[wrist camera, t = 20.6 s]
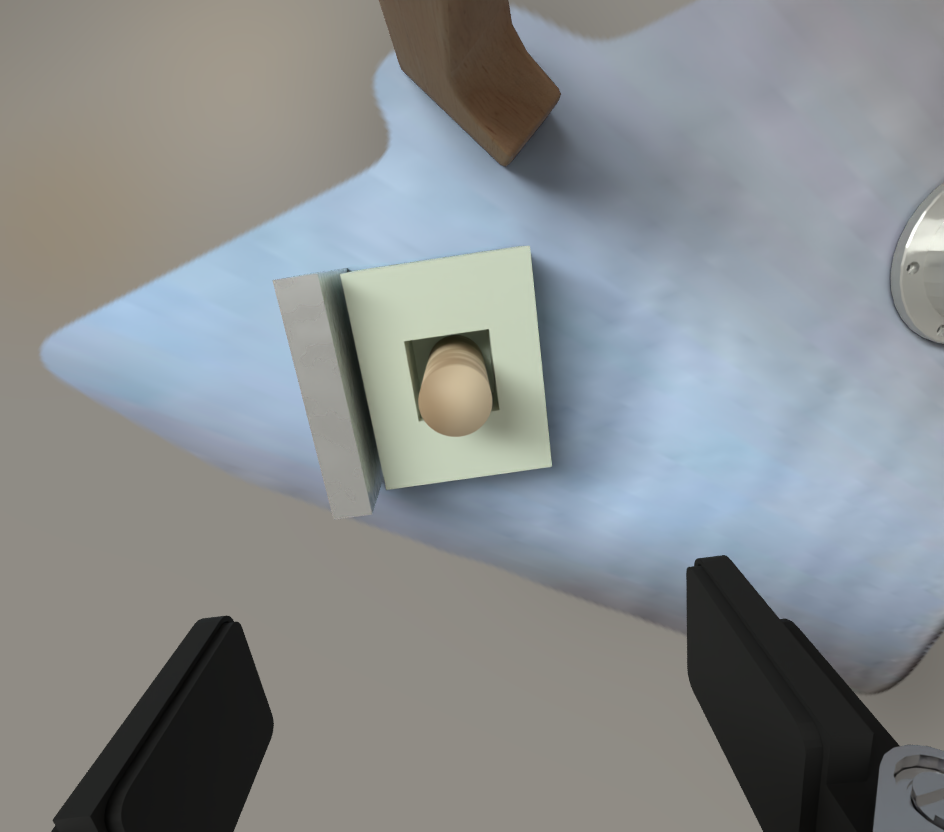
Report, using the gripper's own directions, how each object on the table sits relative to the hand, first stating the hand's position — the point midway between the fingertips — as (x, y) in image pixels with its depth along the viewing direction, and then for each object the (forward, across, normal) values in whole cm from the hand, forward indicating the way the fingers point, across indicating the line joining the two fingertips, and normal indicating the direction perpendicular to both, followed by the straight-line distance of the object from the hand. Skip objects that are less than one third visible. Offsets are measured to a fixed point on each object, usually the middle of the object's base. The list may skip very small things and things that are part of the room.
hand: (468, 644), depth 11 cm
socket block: (+29, +1, 0) cm, 29 cm away
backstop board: (+29, +9, 0) cm, 30 cm away
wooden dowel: (+28, +1, 0) cm, 28 cm away
